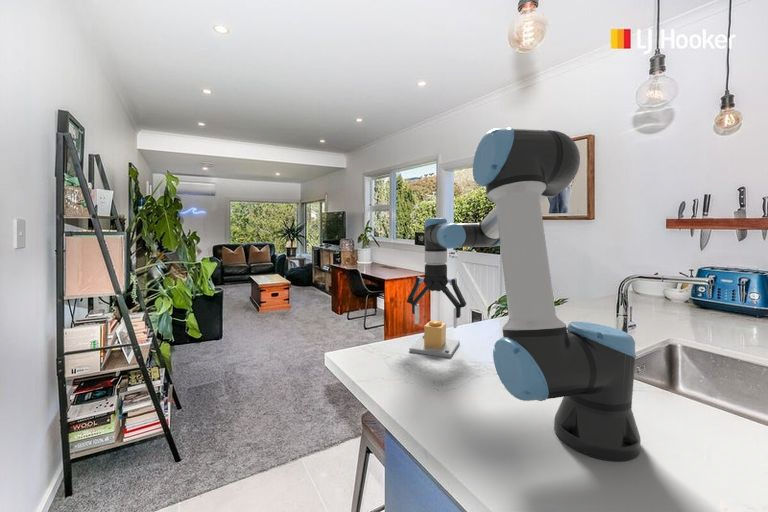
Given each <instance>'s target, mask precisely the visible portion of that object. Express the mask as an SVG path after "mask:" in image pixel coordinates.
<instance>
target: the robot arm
mask: <svg viewBox="0 0 768 512" xmlns="http://www.w3.org/2000/svg"><path fill="white" fill-rule="evenodd" d="M580 155H581V153H580V150H579V148H578V146H577V144H576V143H575V141H574V139H573V138H572V137H570V136H569V135H567V133H566V134H565V133H564V132H561V131H559V130H558V131H557V130H550V129H549V130H544V129H543V130H542V129H541V130H540V129H527V128H526V129H523V128H513V127H506V128H497V127H496V128H493V129H491V130H489V131H487V132H486V133H485V134H484V136H482V138H481V139H480V141H479V143H478V145H477V147H476V151H475V153H474V156H473V160H472V161H473V163H472V177H473V180H474V182H475V184H477V185H478V186H480V187H485V191H486V198H487V199H488V201H491V202H492V203H494V205H495V207H494V208H493V209H492V210H491V211H490V212H489V213H488V214H487V215H486V216H485V217H484V218H483V219H481V221H480V222H474V223H473V222H469V223H467V222H466V223H463V222H462V223H454V222H448V220H447V219H446V217H428V218H426V219H425V220H424V228H423V231H424V263H425V264H424V277H421V276H416V277H415V281H414V282H415V283H414V285H413V287H412V290H411V292H410V293H409V295H408V297H407V299H406V302H407V303H408V304H411V313H412V314H413V315H414V325H418V324H419V323H420V303H418V302H419V301H420V300H421V299H423V296H424V295H425V294H426V293H427V292H428V291H430V292H433V291H436V292H442V293H444V295H445V296H446V297H447V298H448V299H449V301H450V302H451V303H452V305H453V306H454V307H453V329H457V328H458V324H459V323H458V322H459V321H458V319H460V318H461V316H462V314H461V311H462V308H464V307H466V306H467V302H466V300H465V298H464V296H463V294H462V292H461V290H460V288H459V286H458V281H457V278H456V277H455V278H454V277H453V278H448V265H447V262H448V249H458V248H486V247H487V248H493V247H499V246H500V253H501V262H502V270H503V278H504V286H505V295H506V303H507V312H508V320H507V321H506V322H505V324H504V325H503V326H502V327H501V328H502V336H503V337H501V338H499V339H498V340H496V342H495V343H494V348H493V350H492V357H493V359H492V360H493V363H494V367H495V371H496V374H497V376H498V377H499V381H500V382H501V384H502V385H503V386H504V388H505V390H506V391H507V392H508V393H509V394H511V396H513V397H514V398H516V399H517V400H520V401H524V402H529V401H530V402H531V401H540V402H542V401H546V400H548V399H549V400H551V399H557V398H562V400H561V402H560V404H559V406H558V408H557V411H556V413H555V415H554V421H553V423H554V425H553V430H554V433H555V434H556V436H557V437H558V438H559V439H560V440H561V441H562V442H563V443H564V444H566V445H567V446H568V447H570V448H571V449H573V450H575V451H577V452H579V453H581V454H584V455H587V456H589V457H593V458H595V459H601V460H604V461H605V460H606V461H614V462H615V461H616V462H624V461H629V460H632V459H635V458H637V456H638V455H640V452H641V441H642V440H641V435H640V433H639V429H638V425H637V423H636V420H635V415H634V413H633V409H632V408H633V406H632V405H633V394H634V383H635V382H634V380H635V366H636V358H637V355H636V342H635V339H634V338H633V336H632V335H631V334H629V333H627V332H626V331H624V330H621V329H618V328H615V327H611V326H607V325H604V324H600V323H599V324H598V323H593V322H588V321H578V320H577V321H571V322H569V323H568V325H567V324H566V323H565V322H564V321H562V320H561V319H560V318H559V317H557V314H556V313H557V312H556V306H555V305H556V304H555V298H554V291H553V290H554V289H553V284H552V277H551V270H550V264H549V256H548V250H547V249H548V247H547V242H546V241H547V240H546V234H545V227H544V222H543V214H542V213H543V212H542V206H541V204H542V203H543V202H544V201H545V200H547V198H554V197H556V196H558V195H559V194H560V193H561V192H563V191H564V190H566V188H567V187H569V185H571V183H572V182H573V180H574V179H575V177H576V176H577V175H578V171H579V168H580V164H581V163H580V162H581V156H580ZM422 283H424V284H425V286H424V288H423V289H422V290H421V291H420V292H419V293H418V295H416V294H417V292H418V290H419V287H420V285H421V284H422ZM448 283H449V285H450V286H452V289H453V291H454V293H455V295H454V294H453V293H452V292H451V290H450V289H449V288H448V286H447V285H448ZM415 296H416V297H415ZM414 297H415V298H414Z"/></svg>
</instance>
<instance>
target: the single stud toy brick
mask: <svg viewBox="0 0 768 512" xmlns="http://www.w3.org/2000/svg"><path fill="white" fill-rule="evenodd" d="M423 330H424V331H423V332H424V333H423V336H424V346H429V347H436V348H442V347H443V345H444V344H445V343H446V339H447V338H446V337H447V323H446V322H442V321H440V320H430V321H428V322H427V323H426V324H425V325H423Z"/></svg>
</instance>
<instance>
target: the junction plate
mask: <svg viewBox="0 0 768 512" xmlns="http://www.w3.org/2000/svg"><path fill="white" fill-rule="evenodd" d="M460 343H461V342H460V340H457V339H449V338H446V343H445V344H444V345H443V347H442V348H436V347H429V346H424V335H422V336H420V337H419V338H418V339H417V340H416V341H415V343H412V345H411V346H410V347H409V350H408V351H409V353H417V354H422V355H423V354H424V355H429V356H435V357H444V358H450V359H451V357H453V355H454V353H455V351H457V349H458V347H459V345H460Z"/></svg>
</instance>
